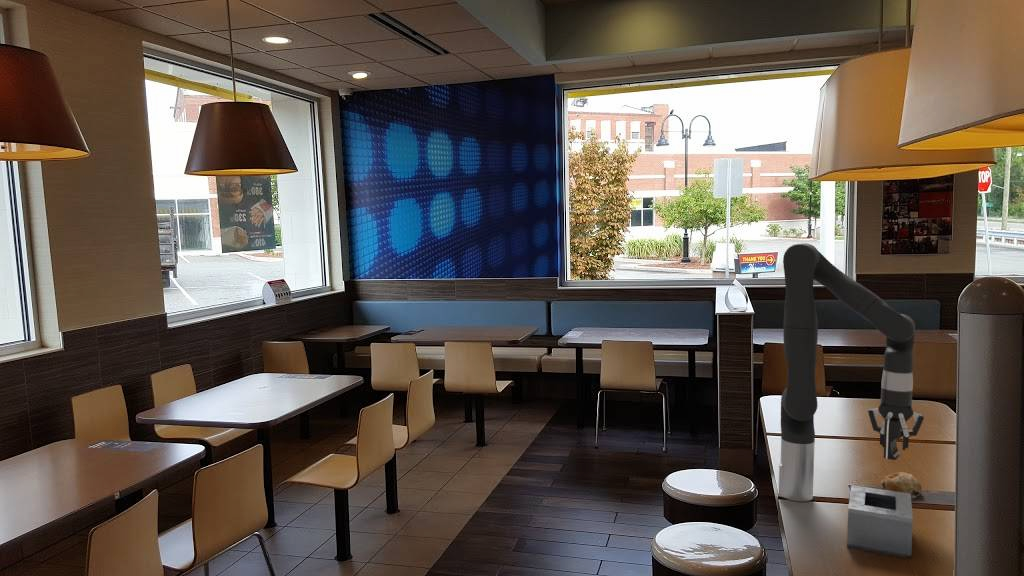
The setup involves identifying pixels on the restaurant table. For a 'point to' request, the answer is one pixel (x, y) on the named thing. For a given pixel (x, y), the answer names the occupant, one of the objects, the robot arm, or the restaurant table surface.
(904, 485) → the bread roll
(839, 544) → the restaurant table surface
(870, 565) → the restaurant table surface
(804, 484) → the robot arm
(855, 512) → the box
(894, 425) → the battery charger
